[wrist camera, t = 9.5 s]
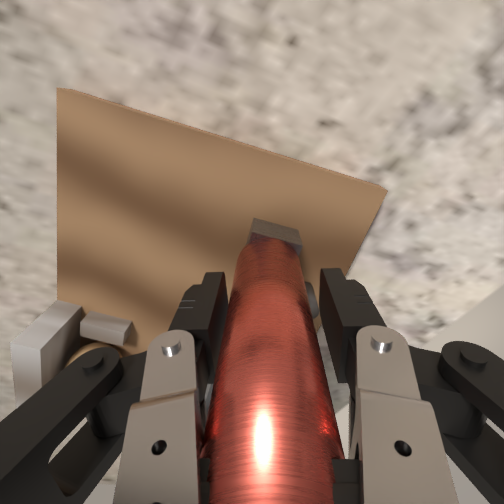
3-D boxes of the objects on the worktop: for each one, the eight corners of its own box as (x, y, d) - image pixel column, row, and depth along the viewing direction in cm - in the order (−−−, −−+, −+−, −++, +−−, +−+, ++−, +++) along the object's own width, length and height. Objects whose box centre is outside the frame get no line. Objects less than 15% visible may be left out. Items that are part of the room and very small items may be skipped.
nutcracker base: (71, 89, 15) (-16, 79, 10) (379, 185, 17) (425, 214, 12) (66, 379, 24) (19, 442, 20) (264, 424, 26) (263, 493, 21)
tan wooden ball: (83, 325, 20) (49, 366, 17) (135, 338, 21) (111, 380, 17) (82, 362, 22) (50, 406, 19) (130, 373, 22) (107, 418, 19)
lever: (234, 432, 22) (206, 730, 12) (170, 418, 22) (78, 714, 11) (313, 233, 15) (431, 535, 4) (219, 208, 15) (93, 469, 4)
